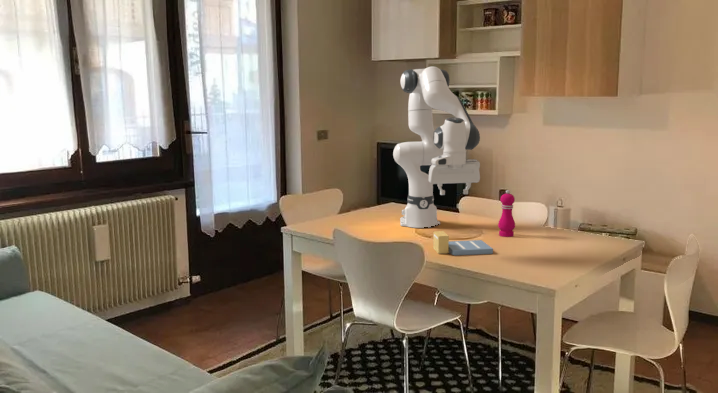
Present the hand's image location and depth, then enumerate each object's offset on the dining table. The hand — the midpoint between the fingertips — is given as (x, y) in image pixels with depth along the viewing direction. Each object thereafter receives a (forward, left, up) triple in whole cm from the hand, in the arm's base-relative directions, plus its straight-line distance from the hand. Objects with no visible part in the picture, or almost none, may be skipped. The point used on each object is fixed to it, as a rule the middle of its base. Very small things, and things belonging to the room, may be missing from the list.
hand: (454, 194), depth 261 cm
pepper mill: (-19, +29, -23) cm, 42 cm away
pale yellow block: (+2, -6, -22) cm, 23 cm away
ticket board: (+2, +5, -22) cm, 23 cm away
